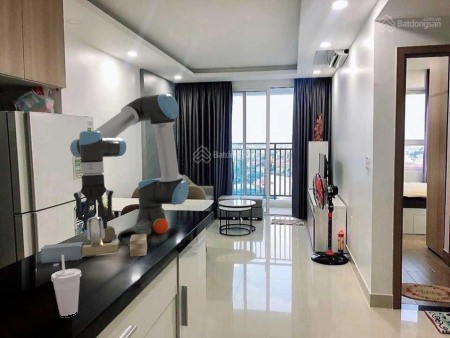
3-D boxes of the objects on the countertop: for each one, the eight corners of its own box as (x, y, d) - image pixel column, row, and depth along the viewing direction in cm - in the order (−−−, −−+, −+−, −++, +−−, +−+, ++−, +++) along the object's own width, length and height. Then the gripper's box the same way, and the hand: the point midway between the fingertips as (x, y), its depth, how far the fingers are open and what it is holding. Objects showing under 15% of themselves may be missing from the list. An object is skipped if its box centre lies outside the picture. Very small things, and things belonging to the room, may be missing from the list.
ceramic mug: (104, 244, 137) (104, 226, 137) (89, 243, 140) (88, 225, 140) (121, 238, 147) (121, 221, 147) (106, 237, 150) (106, 220, 150)
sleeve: (41, 263, 117) (40, 248, 116) (46, 258, 122) (45, 244, 121) (81, 259, 119) (80, 245, 119) (84, 255, 124) (83, 241, 124)
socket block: (130, 256, 120) (129, 241, 120) (132, 249, 129) (131, 234, 129) (146, 255, 121) (145, 239, 121) (147, 248, 130) (146, 233, 130)
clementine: (159, 236, 147) (158, 220, 147) (148, 235, 151) (147, 219, 150) (171, 232, 154) (171, 217, 153) (160, 231, 158) (159, 216, 157)
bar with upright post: (49, 259, 118) (47, 222, 117) (53, 255, 121) (50, 220, 121) (118, 253, 122) (116, 217, 121) (119, 249, 126) (117, 215, 125)
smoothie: (60, 308, 82) (56, 251, 81) (87, 306, 82) (83, 250, 81) (48, 321, 75) (44, 260, 75) (78, 319, 76) (74, 258, 75)
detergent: (143, 246, 133) (163, 229, 157) (141, 228, 132) (161, 215, 157) (112, 249, 135) (137, 232, 159) (110, 231, 134) (135, 217, 159)
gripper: (64, 176, 115) (68, 243, 117) (116, 173, 119) (119, 238, 120) (70, 174, 123) (74, 237, 124) (118, 172, 126) (121, 233, 127)
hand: (96, 238), depth 122 cm, fingers closed on bar with upright post, 4 cm apart
